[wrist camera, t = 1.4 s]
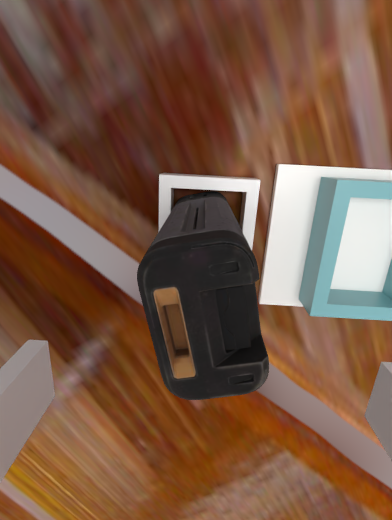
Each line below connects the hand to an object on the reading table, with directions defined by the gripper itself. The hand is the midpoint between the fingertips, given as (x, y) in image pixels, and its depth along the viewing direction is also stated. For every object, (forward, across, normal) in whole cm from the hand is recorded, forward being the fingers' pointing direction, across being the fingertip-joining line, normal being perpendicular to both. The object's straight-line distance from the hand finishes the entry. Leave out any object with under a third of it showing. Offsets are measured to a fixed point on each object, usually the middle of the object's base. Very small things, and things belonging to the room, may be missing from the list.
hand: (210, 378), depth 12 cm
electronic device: (+24, 0, 0) cm, 24 cm away
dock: (+23, +17, 0) cm, 29 cm away
